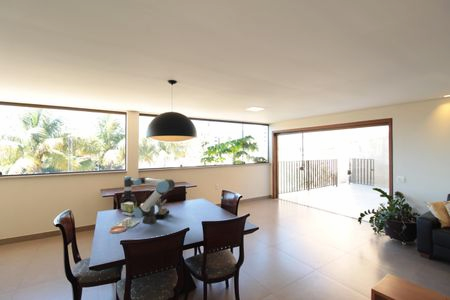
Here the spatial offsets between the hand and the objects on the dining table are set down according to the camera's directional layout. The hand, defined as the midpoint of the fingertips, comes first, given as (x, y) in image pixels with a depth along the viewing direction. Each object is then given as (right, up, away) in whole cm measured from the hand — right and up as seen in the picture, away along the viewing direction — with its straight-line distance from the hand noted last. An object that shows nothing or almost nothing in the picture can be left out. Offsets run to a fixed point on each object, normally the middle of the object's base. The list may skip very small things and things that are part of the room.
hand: (127, 209), depth 235 cm
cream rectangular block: (0, -16, 0) cm, 16 cm away
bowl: (-1, -16, -19) cm, 25 cm away
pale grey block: (0, -16, -7) cm, 17 cm away
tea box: (-15, -17, +36) cm, 43 cm away
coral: (+26, -17, +28) cm, 42 cm away
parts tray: (0, -16, -3) cm, 17 cm away
